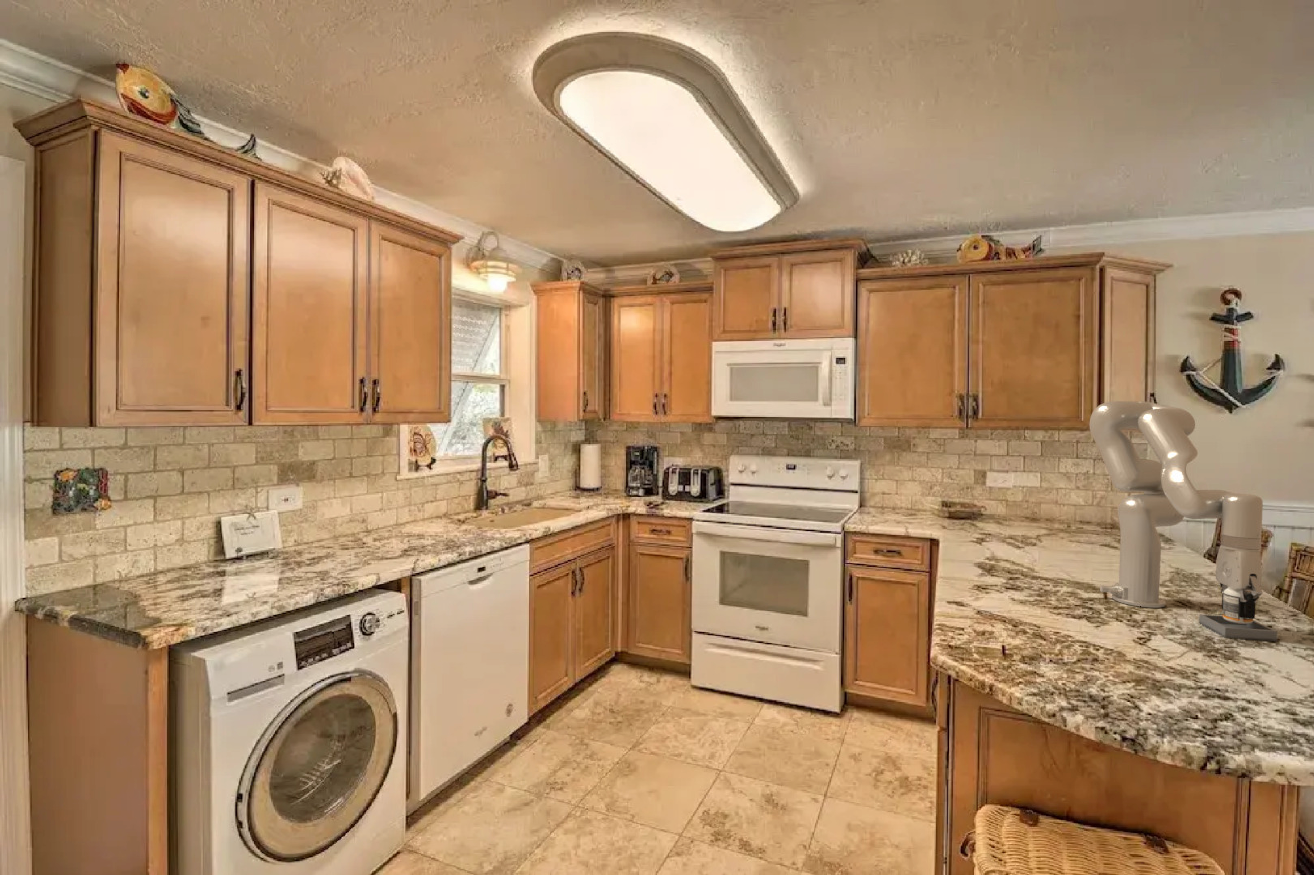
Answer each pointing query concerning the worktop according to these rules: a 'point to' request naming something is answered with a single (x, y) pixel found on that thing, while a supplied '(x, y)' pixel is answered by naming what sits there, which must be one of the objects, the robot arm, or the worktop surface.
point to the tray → (1238, 628)
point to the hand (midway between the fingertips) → (1237, 613)
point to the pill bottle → (1233, 606)
